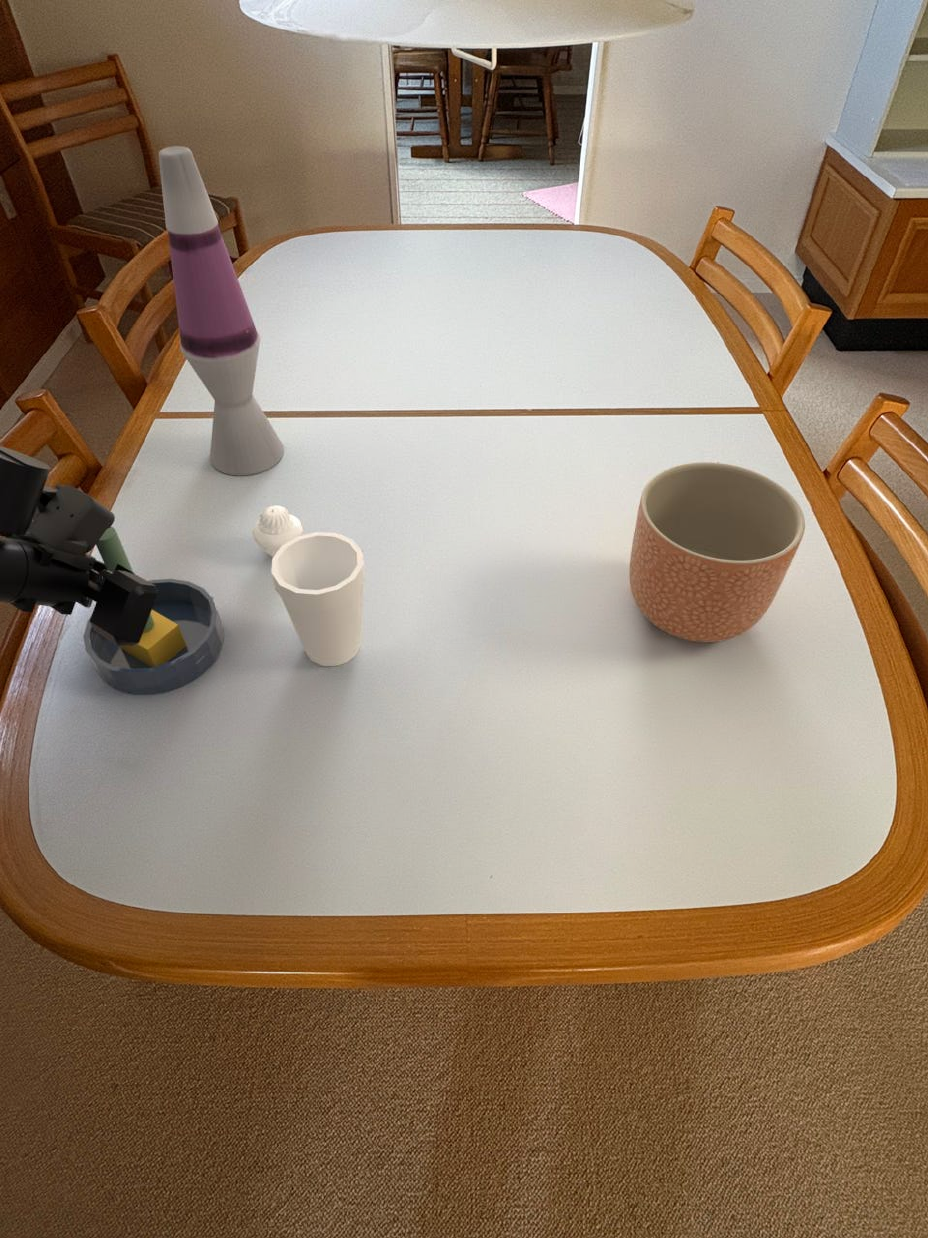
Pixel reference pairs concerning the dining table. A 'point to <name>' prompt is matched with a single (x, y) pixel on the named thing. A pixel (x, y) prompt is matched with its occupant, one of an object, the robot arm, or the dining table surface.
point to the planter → (711, 549)
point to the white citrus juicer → (276, 529)
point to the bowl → (201, 651)
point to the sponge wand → (159, 631)
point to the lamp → (215, 320)
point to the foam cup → (322, 594)
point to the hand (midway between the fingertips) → (141, 586)
